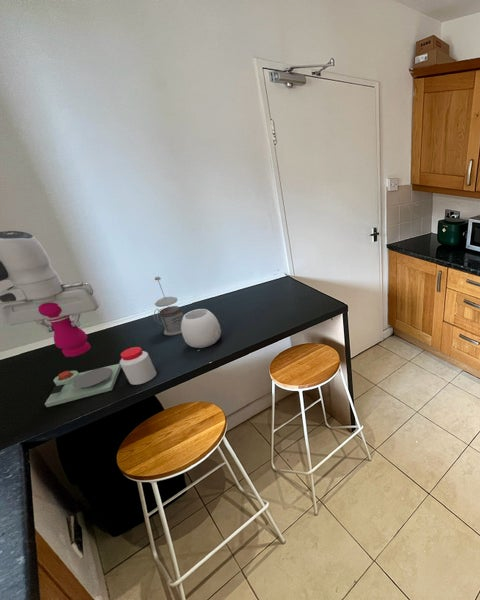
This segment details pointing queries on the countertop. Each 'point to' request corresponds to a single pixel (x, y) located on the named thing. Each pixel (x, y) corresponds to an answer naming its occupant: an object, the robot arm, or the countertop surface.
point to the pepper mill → (65, 331)
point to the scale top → (88, 379)
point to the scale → (74, 393)
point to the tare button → (65, 375)
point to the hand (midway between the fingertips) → (64, 328)
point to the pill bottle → (137, 366)
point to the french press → (169, 326)
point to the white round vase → (200, 328)
